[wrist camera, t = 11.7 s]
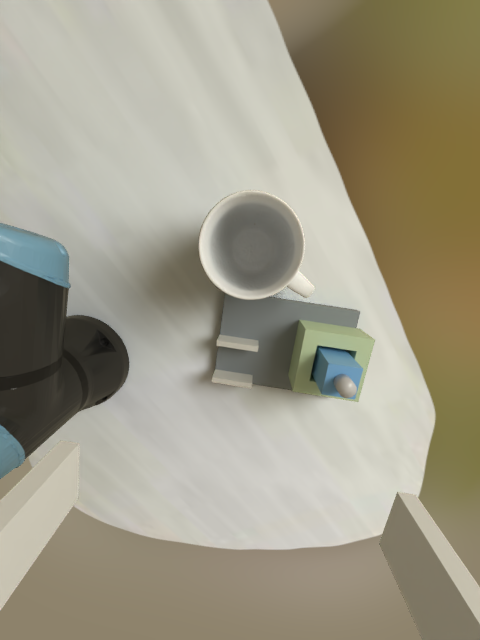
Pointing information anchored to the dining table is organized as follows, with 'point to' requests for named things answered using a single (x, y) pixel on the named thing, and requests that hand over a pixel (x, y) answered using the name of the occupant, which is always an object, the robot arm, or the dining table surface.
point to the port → (327, 336)
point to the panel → (266, 338)
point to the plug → (336, 372)
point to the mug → (253, 246)
